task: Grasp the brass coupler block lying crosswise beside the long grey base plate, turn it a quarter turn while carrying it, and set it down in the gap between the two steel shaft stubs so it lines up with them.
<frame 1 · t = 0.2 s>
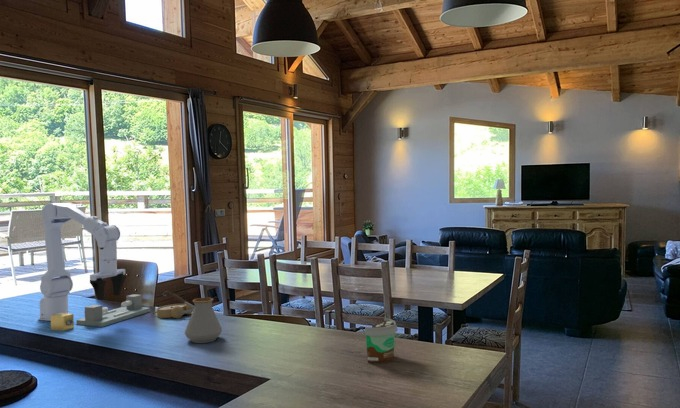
hand: (108, 297, 179), 10 cm above the kitchen island, fingers open, 7 cm apart
food container: (385, 360, 138), on the kitchen island
coupler: (62, 328, 175), on the kitchen island
long grey base plate: (115, 317, 190), on the kitchen island
coffee pot: (191, 338, 161), on the kitchen island
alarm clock: (175, 316, 192), on the kitchen island
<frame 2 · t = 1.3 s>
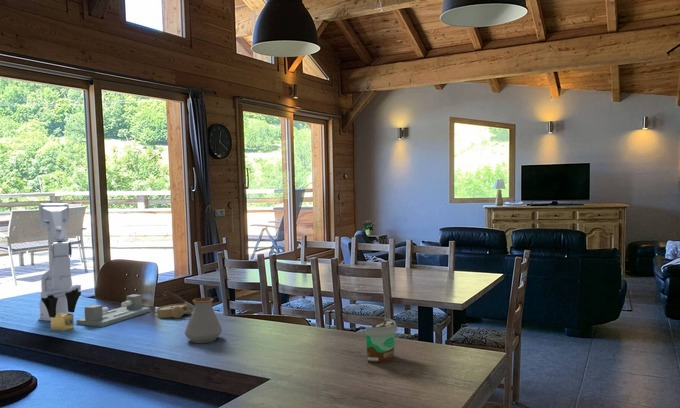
hand: (62, 314, 175), 5 cm above the kitchen island, fingers open, 7 cm apart
nothing on the kitchen island moved.
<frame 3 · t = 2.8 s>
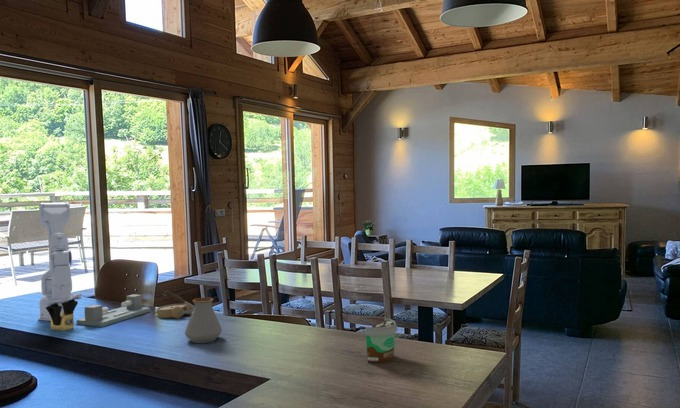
hand: (62, 323, 175), 2 cm above the kitchen island, fingers closed on coupler, 4 cm apart
coupler: (62, 328, 175), on the kitchen island, touching gripper
everything else where it was.
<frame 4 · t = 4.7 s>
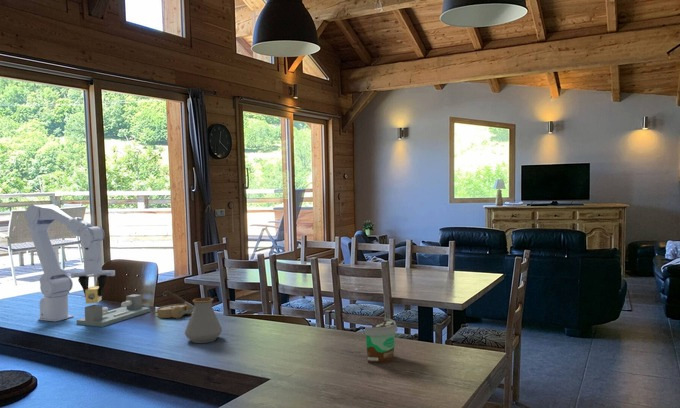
hand: (93, 296, 183), 9 cm above the kitchen island, fingers closed on coupler, 4 cm apart
coupler: (93, 301, 183), point 8 cm above the kitchen island, touching gripper
everything else where it was.
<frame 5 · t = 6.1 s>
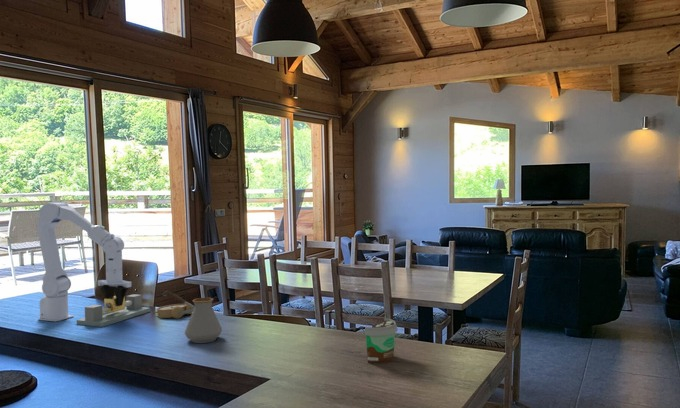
hand: (114, 305, 190), 5 cm above the kitchen island, fingers closed on coupler, 4 cm apart
coupler: (114, 310, 190), point 3 cm above the kitchen island, touching gripper
everything else where it was.
when the fingers open (4 cm above the kitchen island, at t = 7.0 s): coupler stays where it is, resting on long grey base plate.
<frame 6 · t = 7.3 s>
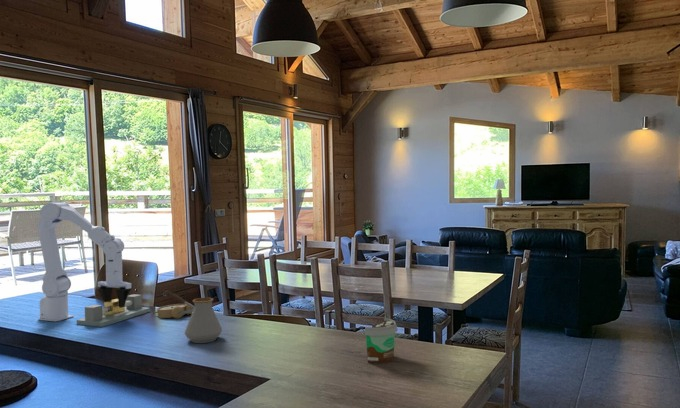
hand: (114, 306, 190), 4 cm above the kitchen island, fingers open, 6 cm apart
coupler: (114, 313, 190), point 1 cm above the kitchen island, touching long grey base plate
everything else where it was.
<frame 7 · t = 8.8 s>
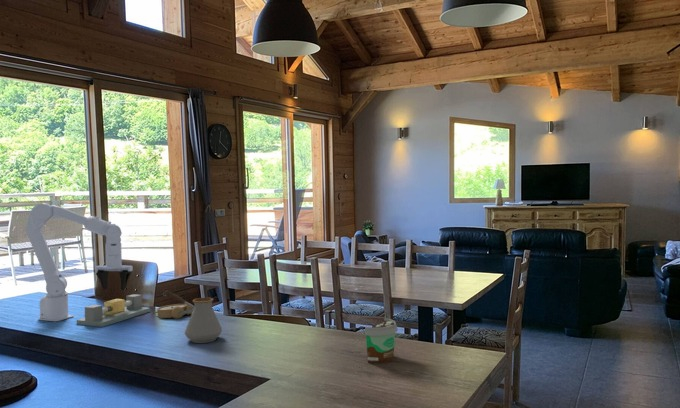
hand: (114, 289, 197), 9 cm above the kitchen island, fingers open, 7 cm apart
nothing on the kitchen island moved.
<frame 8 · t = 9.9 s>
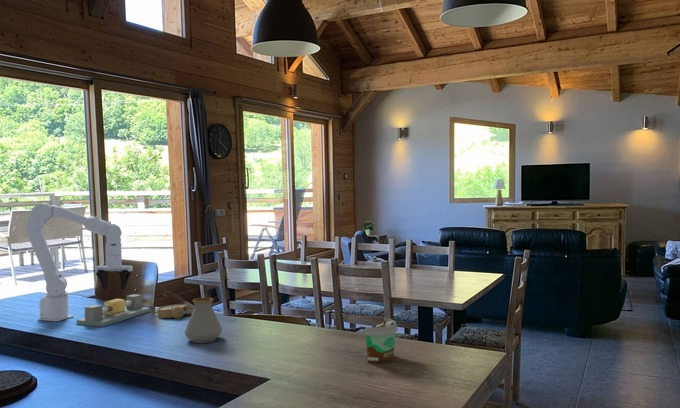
hand: (114, 289, 197), 9 cm above the kitchen island, fingers open, 7 cm apart
nothing on the kitchen island moved.
at the end: coupler 0.1 cm off-centre on the long grey base plate, point 1.5 cm above the long grey base plate's base; coupler tilted 0°; the gripper is holding nothing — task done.
